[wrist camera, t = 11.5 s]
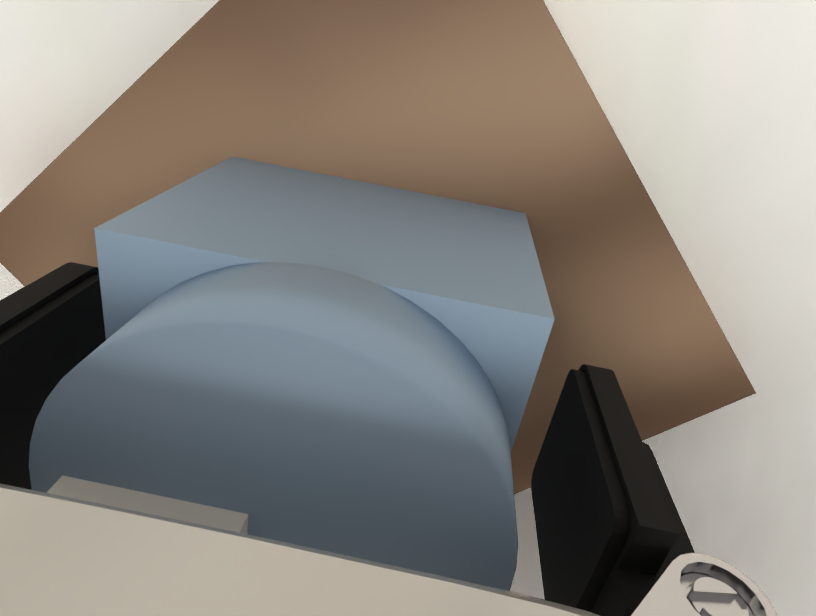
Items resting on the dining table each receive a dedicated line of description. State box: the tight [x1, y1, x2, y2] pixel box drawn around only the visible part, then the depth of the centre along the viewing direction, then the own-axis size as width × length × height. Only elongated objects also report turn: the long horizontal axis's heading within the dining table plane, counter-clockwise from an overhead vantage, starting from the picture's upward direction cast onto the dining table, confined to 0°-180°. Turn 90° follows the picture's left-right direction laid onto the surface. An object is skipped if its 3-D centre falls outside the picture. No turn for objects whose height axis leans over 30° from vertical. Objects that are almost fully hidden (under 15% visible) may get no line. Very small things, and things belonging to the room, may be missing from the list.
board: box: [0, 0, 756, 494], centre depth 14 cm, size 14×14×1 cm
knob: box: [29, 157, 555, 591], centre depth 10 cm, size 7×7×7 cm
